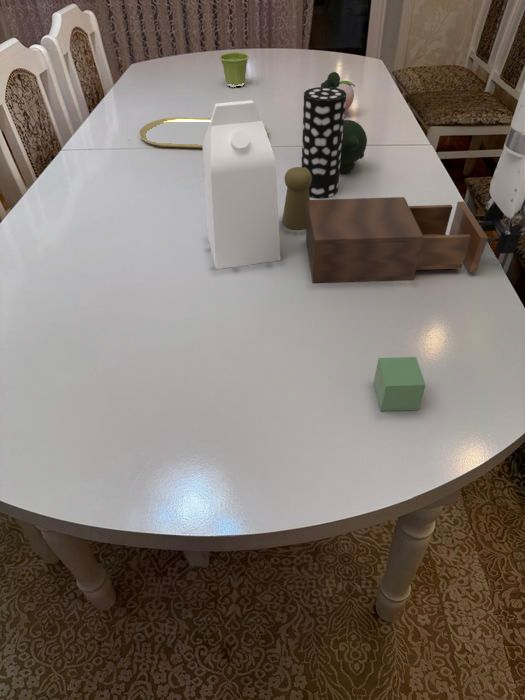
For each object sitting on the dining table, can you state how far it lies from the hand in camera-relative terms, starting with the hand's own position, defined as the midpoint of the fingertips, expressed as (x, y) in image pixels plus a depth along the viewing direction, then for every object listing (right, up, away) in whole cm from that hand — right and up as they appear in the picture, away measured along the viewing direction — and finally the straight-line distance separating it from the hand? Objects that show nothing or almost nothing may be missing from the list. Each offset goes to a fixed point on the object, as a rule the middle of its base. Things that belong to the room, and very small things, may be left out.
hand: (496, 240), depth 89 cm
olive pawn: (-35, +6, +12) cm, 38 cm away
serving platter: (-58, +38, +46) cm, 83 cm away
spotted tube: (-29, +16, +22) cm, 40 cm away
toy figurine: (-24, +27, +33) cm, 49 cm away
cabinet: (-25, -3, +2) cm, 25 cm away
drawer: (-10, -2, +2) cm, 10 cm away
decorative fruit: (-20, +48, +55) cm, 76 cm away
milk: (-46, 0, +6) cm, 46 cm away
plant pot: (-51, +69, +78) cm, 116 cm away
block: (-24, -26, -22) cm, 41 cm away
